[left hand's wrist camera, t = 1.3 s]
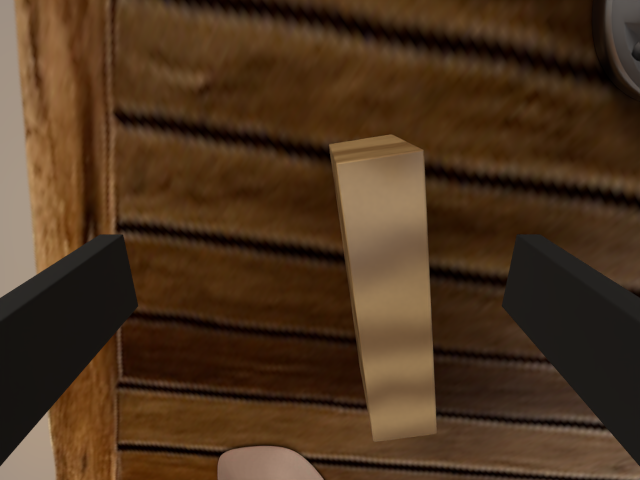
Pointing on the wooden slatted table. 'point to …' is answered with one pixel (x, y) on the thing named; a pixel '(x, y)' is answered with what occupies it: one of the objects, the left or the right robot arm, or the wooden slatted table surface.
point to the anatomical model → (265, 465)
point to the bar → (388, 280)
